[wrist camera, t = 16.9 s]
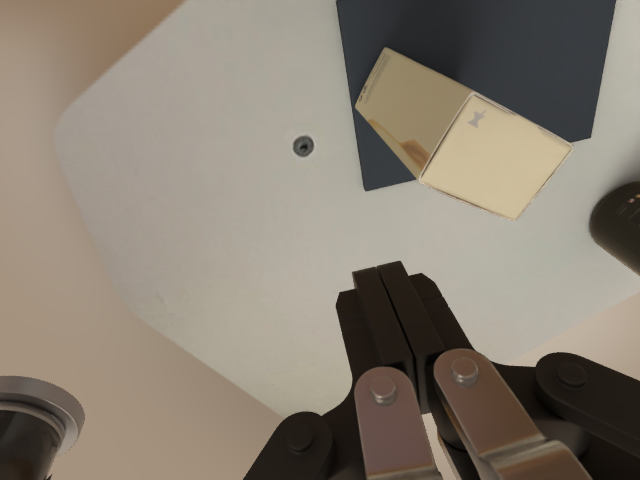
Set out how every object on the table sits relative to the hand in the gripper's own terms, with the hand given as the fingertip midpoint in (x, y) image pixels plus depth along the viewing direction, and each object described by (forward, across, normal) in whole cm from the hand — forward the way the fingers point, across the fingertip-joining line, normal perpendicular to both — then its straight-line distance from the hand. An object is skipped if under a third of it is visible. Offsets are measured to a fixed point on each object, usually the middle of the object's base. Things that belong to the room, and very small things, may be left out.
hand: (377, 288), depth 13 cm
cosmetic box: (+18, -7, 0) cm, 20 cm away
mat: (+19, -12, 0) cm, 22 cm away
